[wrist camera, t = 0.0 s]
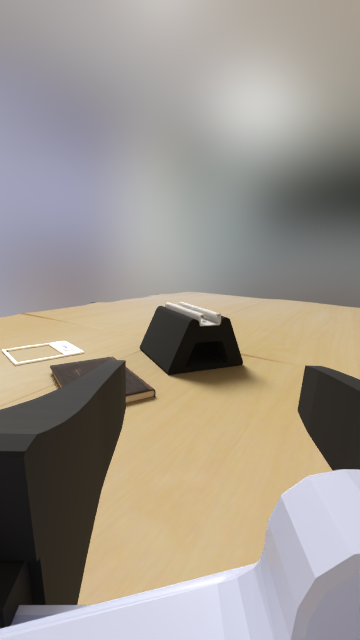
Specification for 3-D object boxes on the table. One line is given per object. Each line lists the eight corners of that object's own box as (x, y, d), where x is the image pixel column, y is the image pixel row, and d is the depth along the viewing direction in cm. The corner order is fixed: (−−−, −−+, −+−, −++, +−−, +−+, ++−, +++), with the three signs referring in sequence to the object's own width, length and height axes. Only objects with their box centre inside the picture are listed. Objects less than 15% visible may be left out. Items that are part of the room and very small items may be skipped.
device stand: (167, 376, 71) (169, 315, 68) (139, 350, 91) (140, 302, 88) (242, 365, 80) (247, 312, 77) (202, 344, 100) (204, 301, 97)
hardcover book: (74, 419, 50) (73, 406, 50) (50, 374, 69) (49, 365, 69) (155, 398, 59) (155, 388, 59) (114, 364, 78) (114, 356, 77)
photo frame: (84, 351, 84) (15, 363, 72) (84, 354, 85) (15, 367, 73) (64, 340, 95) (1, 349, 83) (64, 343, 95) (2, 352, 83)
